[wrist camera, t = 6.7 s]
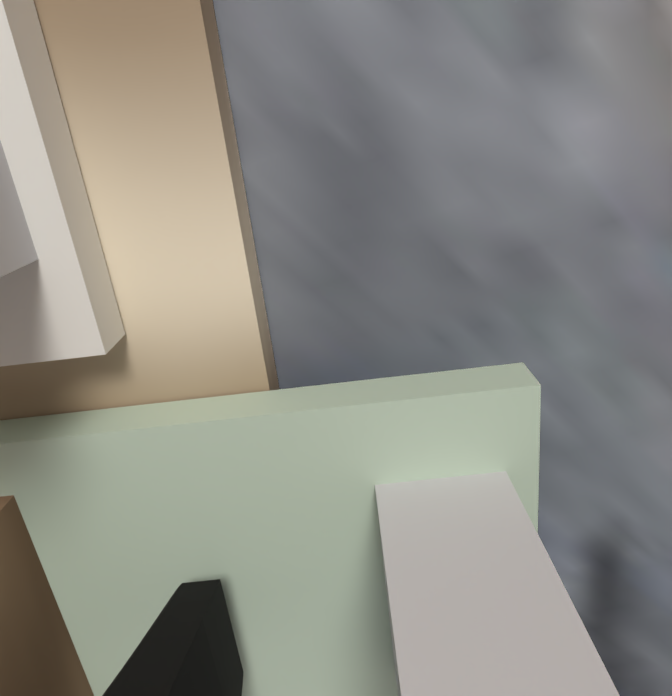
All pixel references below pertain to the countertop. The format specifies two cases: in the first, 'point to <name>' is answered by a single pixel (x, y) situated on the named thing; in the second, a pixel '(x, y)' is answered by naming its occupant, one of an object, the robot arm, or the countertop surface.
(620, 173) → the countertop surface
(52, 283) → the white strip
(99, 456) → the green strip
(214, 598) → the robot arm
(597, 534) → the countertop surface
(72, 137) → the base
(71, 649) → the walnut block
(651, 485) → the countertop surface
